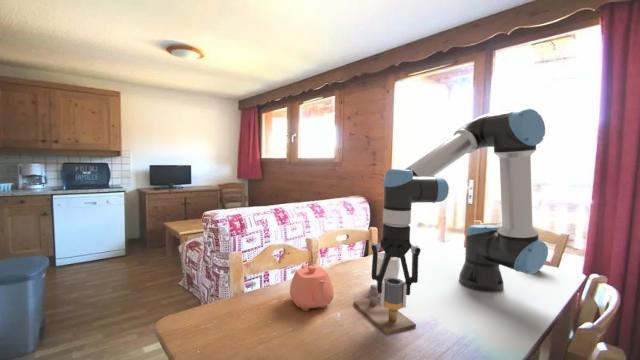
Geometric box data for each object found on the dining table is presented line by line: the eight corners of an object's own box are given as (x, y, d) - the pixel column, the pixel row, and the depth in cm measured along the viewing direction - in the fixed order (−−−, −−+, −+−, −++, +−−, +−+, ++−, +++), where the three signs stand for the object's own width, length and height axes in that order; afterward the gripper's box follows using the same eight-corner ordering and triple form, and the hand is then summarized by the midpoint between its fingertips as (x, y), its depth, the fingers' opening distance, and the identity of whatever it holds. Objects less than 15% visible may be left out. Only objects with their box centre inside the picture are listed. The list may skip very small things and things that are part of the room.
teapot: (301, 324, 84) (302, 282, 83) (284, 294, 102) (284, 259, 102) (344, 316, 89) (345, 276, 88) (320, 289, 107) (321, 256, 106)
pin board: (353, 304, 96) (353, 283, 96) (379, 299, 100) (380, 279, 100) (386, 334, 80) (387, 309, 79) (415, 327, 83) (416, 303, 83)
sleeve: (403, 310, 82) (404, 285, 82) (384, 308, 83) (385, 284, 82) (400, 301, 87) (401, 278, 87) (382, 300, 88) (383, 277, 87)
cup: (399, 295, 104) (401, 261, 103) (373, 292, 106) (374, 259, 105) (398, 284, 113) (399, 253, 112) (374, 282, 114) (375, 251, 114)
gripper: (427, 223, 86) (423, 301, 87) (363, 219, 88) (360, 295, 90) (433, 228, 79) (429, 314, 80) (363, 224, 81) (360, 307, 82)
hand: (392, 304), depth 85 cm, fingers closed on sleeve, 5 cm apart
